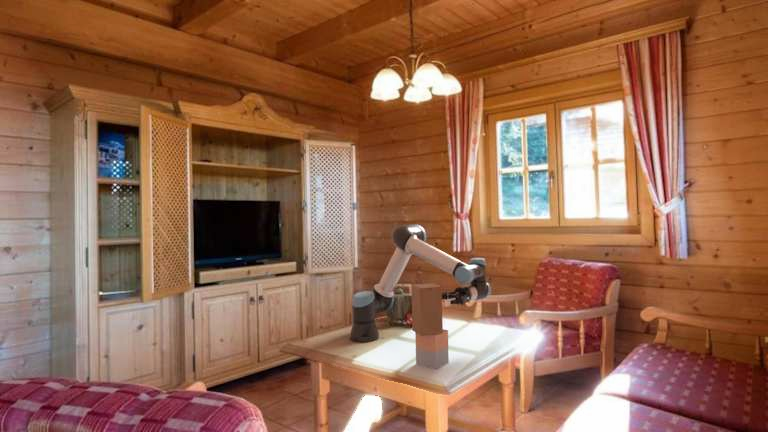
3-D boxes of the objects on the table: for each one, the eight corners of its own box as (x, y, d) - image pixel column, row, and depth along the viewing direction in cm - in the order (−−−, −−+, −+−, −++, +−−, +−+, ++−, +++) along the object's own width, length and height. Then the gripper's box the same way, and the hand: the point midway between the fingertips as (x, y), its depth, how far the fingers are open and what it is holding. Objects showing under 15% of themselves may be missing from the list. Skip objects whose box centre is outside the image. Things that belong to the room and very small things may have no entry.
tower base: (416, 364, 191) (415, 348, 191) (429, 358, 199) (428, 342, 199) (435, 369, 185) (435, 352, 185) (448, 362, 192) (448, 346, 192)
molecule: (431, 316, 273) (436, 293, 271) (443, 324, 265) (449, 300, 262) (398, 320, 259) (403, 295, 256) (410, 329, 250) (415, 303, 247)
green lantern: (394, 319, 271) (393, 286, 271) (397, 315, 281) (396, 283, 281) (410, 319, 269) (409, 286, 269) (413, 315, 279) (412, 283, 279)
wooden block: (443, 333, 187) (442, 286, 187) (421, 336, 184) (419, 287, 184) (433, 328, 196) (432, 282, 196) (412, 330, 193) (410, 284, 193)
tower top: (415, 348, 191) (415, 331, 191) (429, 342, 199) (428, 326, 199) (435, 352, 185) (435, 335, 185) (448, 346, 192) (447, 330, 192)
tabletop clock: (405, 320, 268) (403, 278, 267) (414, 323, 260) (413, 280, 260) (385, 324, 259) (384, 281, 259) (394, 327, 252) (393, 283, 252)
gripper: (487, 306, 195) (454, 314, 182) (445, 298, 215) (412, 305, 201) (487, 289, 195) (454, 296, 182) (444, 283, 215) (412, 289, 201)
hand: (432, 301), depth 192 cm, fingers open, 13 cm apart
